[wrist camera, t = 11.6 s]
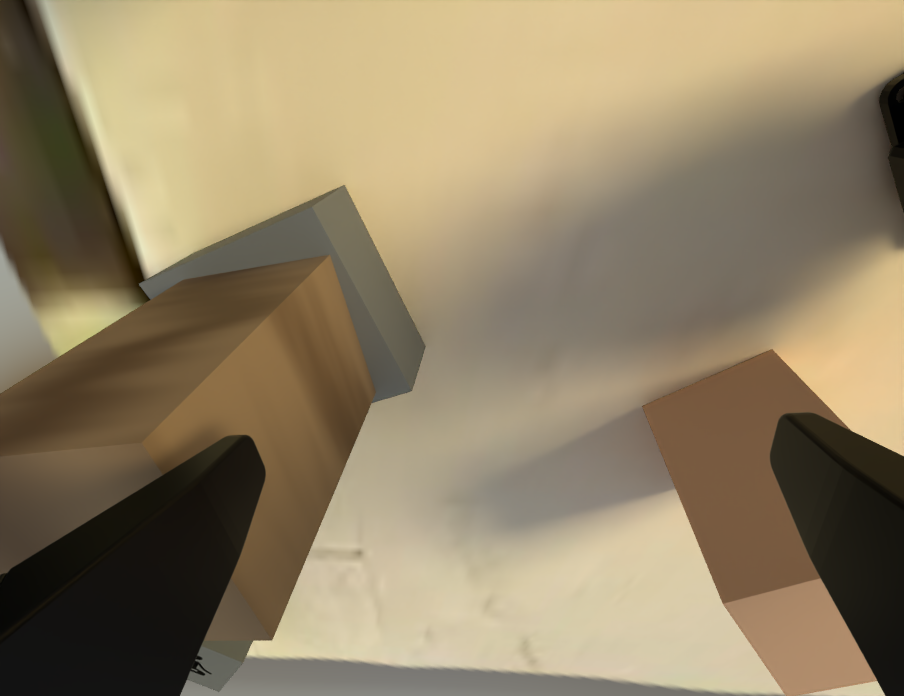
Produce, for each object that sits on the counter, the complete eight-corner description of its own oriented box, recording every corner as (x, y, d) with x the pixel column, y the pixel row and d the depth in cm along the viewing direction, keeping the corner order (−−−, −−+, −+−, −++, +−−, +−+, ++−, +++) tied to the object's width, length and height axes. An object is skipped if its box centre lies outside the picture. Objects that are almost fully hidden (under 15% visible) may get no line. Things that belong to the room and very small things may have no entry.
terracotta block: (772, 349, 21) (959, 542, 12) (813, 439, 23) (997, 658, 14) (641, 406, 23) (722, 604, 14) (691, 484, 25) (786, 697, 16)
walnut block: (330, 254, 17) (142, 442, 8) (375, 392, 20) (272, 640, 11) (183, 279, 18) (-120, 468, 9) (246, 406, 21) (60, 641, 12)
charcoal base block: (346, 183, 19) (311, 206, 16) (426, 343, 23) (411, 391, 19) (197, 250, 22) (138, 284, 18) (290, 387, 25) (255, 437, 22)
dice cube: (191, 592, 35) (147, 663, 31) (211, 559, 33) (166, 631, 29) (253, 618, 36) (218, 691, 32) (276, 588, 34) (243, 662, 30)
